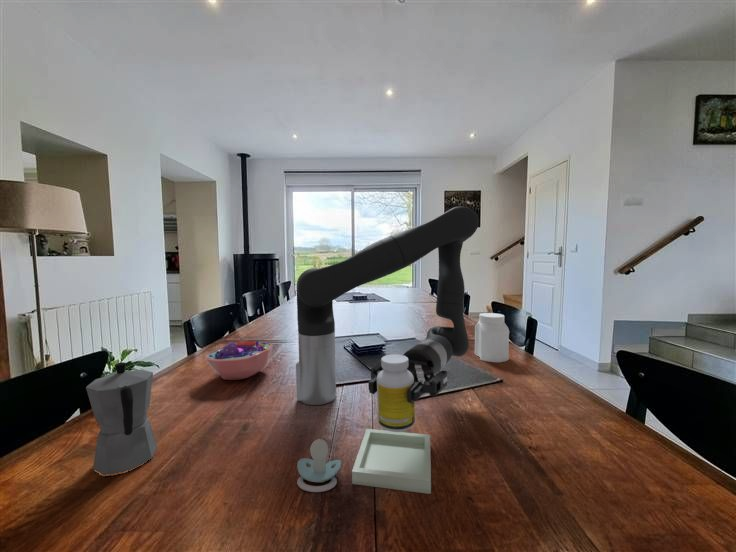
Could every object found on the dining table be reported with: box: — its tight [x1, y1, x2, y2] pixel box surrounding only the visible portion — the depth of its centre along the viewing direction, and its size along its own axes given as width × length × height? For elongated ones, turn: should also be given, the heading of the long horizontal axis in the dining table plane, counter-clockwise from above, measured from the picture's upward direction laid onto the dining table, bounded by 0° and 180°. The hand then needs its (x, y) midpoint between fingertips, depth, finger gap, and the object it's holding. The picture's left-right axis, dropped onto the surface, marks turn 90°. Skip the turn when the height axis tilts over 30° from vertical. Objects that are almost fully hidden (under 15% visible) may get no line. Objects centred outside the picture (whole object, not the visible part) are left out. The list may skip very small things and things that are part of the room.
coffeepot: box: [85, 362, 158, 475], centre depth 55 cm, size 15×9×18 cm, turn 43°
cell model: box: [204, 340, 273, 381], centre depth 95 cm, size 17×20×11 cm
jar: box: [474, 312, 510, 363], centre depth 110 cm, size 12×10×15 cm
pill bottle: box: [376, 353, 416, 432], centre depth 54 cm, size 6×6×12 cm
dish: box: [351, 428, 432, 495], centre depth 55 cm, size 12×12×2 cm
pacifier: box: [296, 438, 342, 493], centre depth 51 cm, size 7×6×6 cm
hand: (389, 392), depth 52 cm, fingers closed on pill bottle, 6 cm apart
